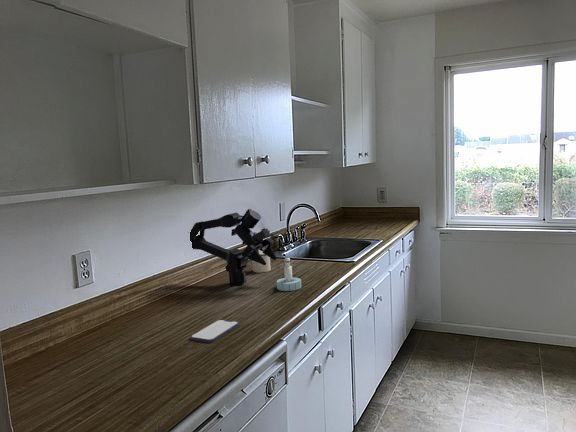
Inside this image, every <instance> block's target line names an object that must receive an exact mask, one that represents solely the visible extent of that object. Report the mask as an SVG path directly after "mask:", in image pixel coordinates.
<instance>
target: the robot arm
mask: <svg viewBox="0 0 576 432" xmlns="http://www.w3.org/2000/svg"><path fill="white" fill-rule="evenodd" d="M261 220H262V215H261V214H260V213H259V212H257V211H255V210H252V208H248V209H246V211H245V213H244V214H243V215H240V214H239V212H232V213H228V214H225V215H223V216H221V217H219V218H214V219H210V220H204V221H197V222H195V223H194V224H193V225H192V228H191V229H190V230H191V232H190V241H191V242H192V248H193V249H192V250H198V251H199V250H201V251H203V252H205V253H207V254H210V255H213V256H215V257H217V258H219V259H222V260H224V261H225V262H226V263H227V264H226V266H225V267H224V268H225V270H226V273H227V272H228V281H229V283H228V284H227V285H229V286H242V285H244V284H245V283H246V282H247V277H246V275H247V274H246V271H245V269H246V268H247V265H248V261H249V260H250V261H251V262H252V261H255V262H258V263H260V264H262V265H266V262H265V260H264V259H263V258H262V257H261V255H260V254H259V250H258V249H260V250H261V251H263V252H262V253H264V254H265V255H267V256H268V257H270V259H272V260H274V261H277V256H276V253H275V252H274V249H273V244H274V240H273V238H272V237H270V236H271V235H270V234H271V233H270V232H271V230H269V228H268V227H264V228H262V229H261V230H260V231H259V232H256V231H254V232H253V231H252V230H251V229H254V228H255V227H256V226H257V224H258V223H259V222H260V221H261ZM233 227H235V228H233ZM215 228H233V229H231V236H238V238H239V239H240V240H241V241H242V242H241V244H242V245H246V247H244V249H243V250H240V249H239V248H235V249H232V250H229V249H227V248H224V247H221V246H219V245H217V244H215V243H213V242H210V241H208V240H206V239H205V233H206V230H210V229H215ZM199 231H200V235H198V236H196V235H197V234H198V232H199Z"/></svg>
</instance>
